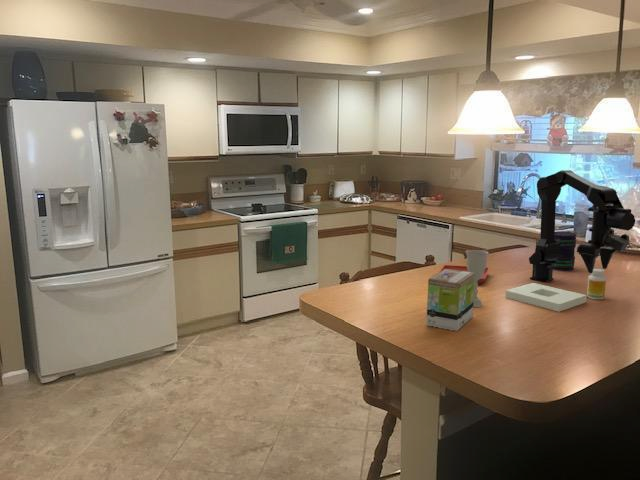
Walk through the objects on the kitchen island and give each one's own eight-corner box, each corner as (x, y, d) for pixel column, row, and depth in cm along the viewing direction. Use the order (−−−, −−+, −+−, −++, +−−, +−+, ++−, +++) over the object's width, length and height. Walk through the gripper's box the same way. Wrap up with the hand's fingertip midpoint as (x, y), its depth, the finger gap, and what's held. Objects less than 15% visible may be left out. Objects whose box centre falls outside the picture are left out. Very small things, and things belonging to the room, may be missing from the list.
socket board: (505, 297, 188) (505, 290, 187) (532, 289, 197) (532, 282, 196) (559, 311, 172) (559, 304, 171) (585, 302, 181) (586, 295, 180)
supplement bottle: (606, 300, 183) (608, 272, 181) (589, 299, 184) (591, 271, 182) (601, 295, 188) (603, 268, 186) (584, 294, 189) (587, 267, 187)
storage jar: (575, 267, 228) (578, 232, 225) (572, 272, 220) (575, 236, 217) (550, 264, 233) (552, 230, 230) (546, 269, 225) (548, 234, 222)
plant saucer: (436, 282, 209) (436, 274, 208) (443, 272, 225) (443, 264, 224) (485, 287, 202) (485, 278, 201) (488, 275, 219) (489, 267, 218)
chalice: (486, 302, 182) (489, 250, 178) (485, 308, 176) (488, 254, 172) (464, 301, 184) (466, 249, 181) (462, 306, 178) (464, 253, 174)
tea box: (458, 332, 155) (460, 282, 153) (425, 326, 161) (426, 278, 158) (473, 317, 168) (475, 271, 165) (442, 312, 173) (443, 267, 170)
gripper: (611, 232, 169) (607, 280, 172) (640, 225, 180) (635, 271, 183) (577, 227, 178) (574, 273, 181) (606, 221, 189) (602, 265, 192)
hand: (597, 270), depth 184 cm, fingers open, 9 cm apart
